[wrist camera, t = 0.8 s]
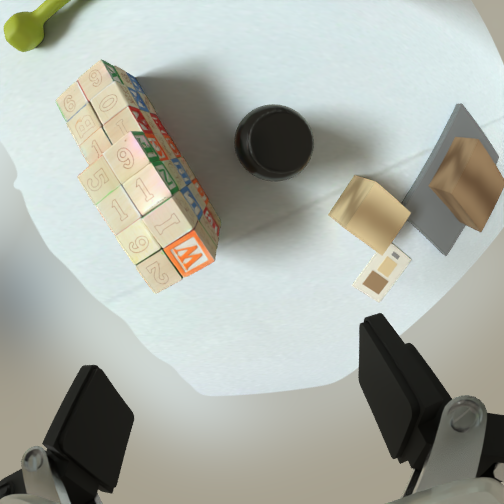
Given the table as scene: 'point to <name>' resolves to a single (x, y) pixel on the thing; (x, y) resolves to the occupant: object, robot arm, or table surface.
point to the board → (422, 196)
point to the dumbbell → (30, 25)
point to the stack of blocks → (139, 177)
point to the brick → (468, 182)
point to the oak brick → (370, 213)
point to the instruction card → (381, 273)
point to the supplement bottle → (274, 142)
